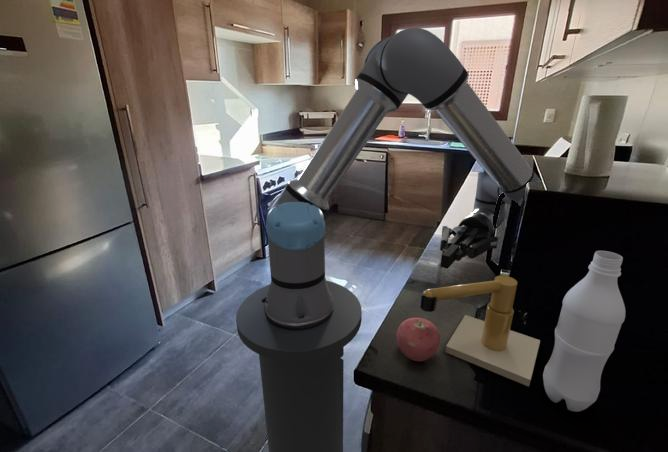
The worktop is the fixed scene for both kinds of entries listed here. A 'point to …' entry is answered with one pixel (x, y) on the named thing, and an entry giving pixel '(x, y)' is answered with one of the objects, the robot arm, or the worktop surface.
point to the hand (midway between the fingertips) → (444, 261)
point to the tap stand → (495, 346)
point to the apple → (418, 339)
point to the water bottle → (586, 334)
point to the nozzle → (474, 293)
